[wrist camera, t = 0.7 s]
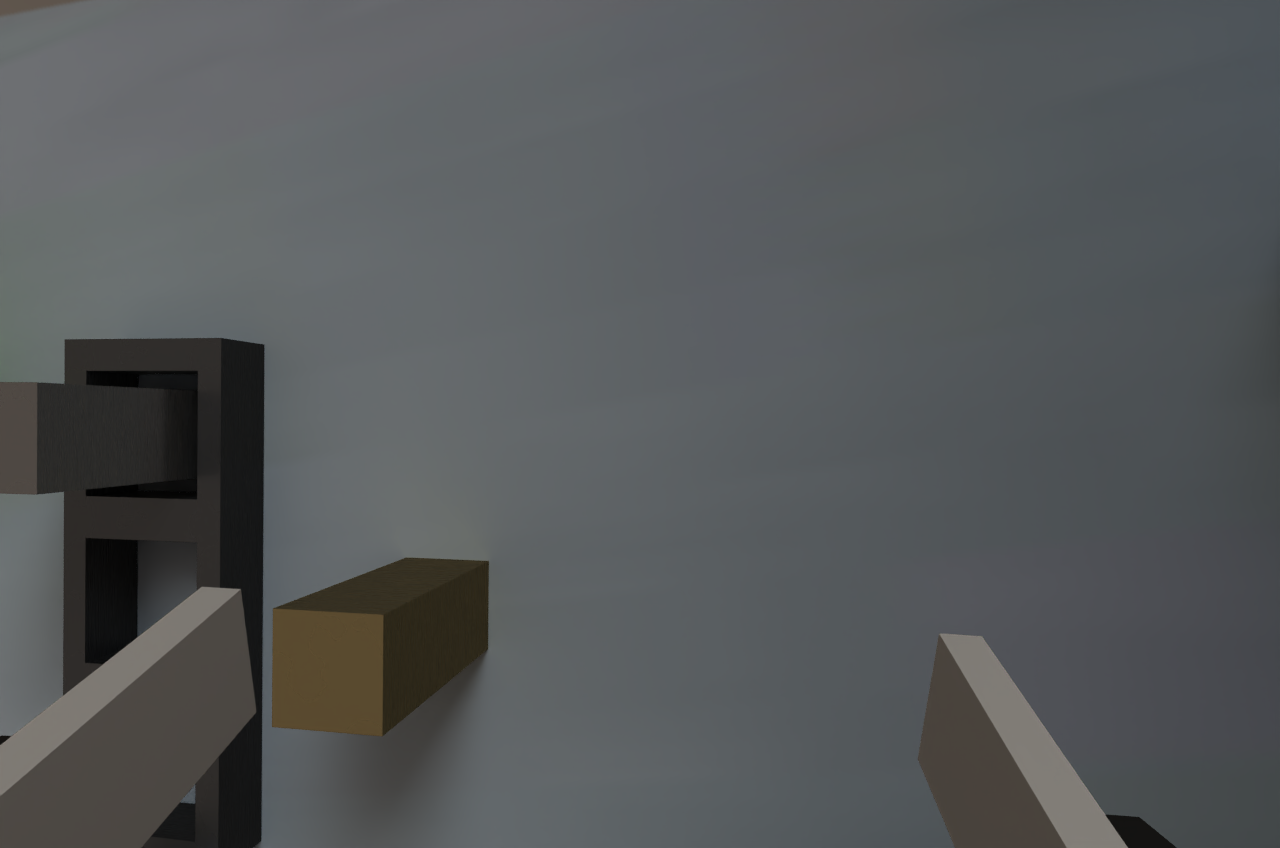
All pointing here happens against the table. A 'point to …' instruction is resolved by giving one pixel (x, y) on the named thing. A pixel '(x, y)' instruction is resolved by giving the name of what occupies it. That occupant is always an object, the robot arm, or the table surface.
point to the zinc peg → (94, 436)
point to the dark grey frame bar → (213, 517)
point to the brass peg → (377, 644)
